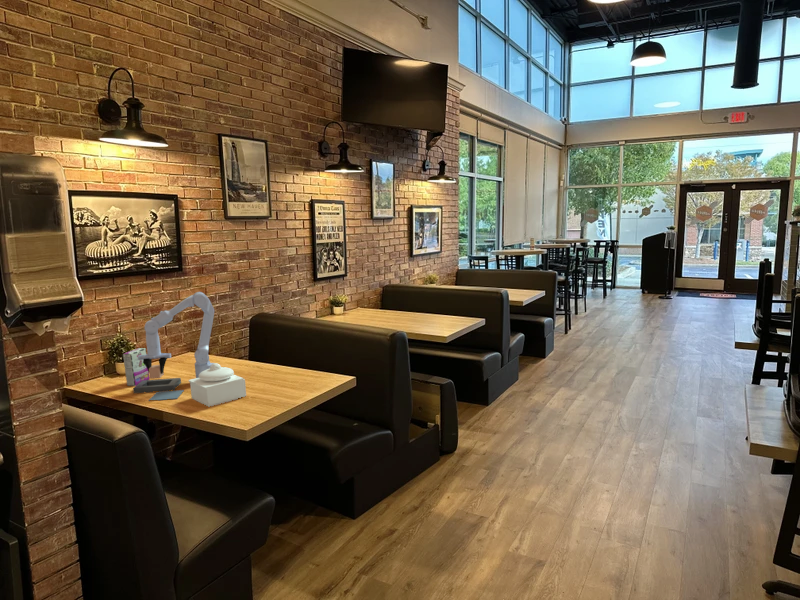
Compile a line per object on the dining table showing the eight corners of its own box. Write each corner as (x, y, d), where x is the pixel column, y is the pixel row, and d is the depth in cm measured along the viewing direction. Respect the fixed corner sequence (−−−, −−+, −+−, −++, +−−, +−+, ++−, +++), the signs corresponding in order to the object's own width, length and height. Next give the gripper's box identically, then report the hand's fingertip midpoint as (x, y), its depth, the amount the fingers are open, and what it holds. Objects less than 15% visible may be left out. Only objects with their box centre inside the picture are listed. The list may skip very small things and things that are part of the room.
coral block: (163, 374, 257) (162, 364, 256) (159, 378, 251) (158, 367, 250) (154, 375, 256) (152, 365, 256) (150, 378, 250) (148, 368, 250)
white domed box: (246, 397, 236) (243, 362, 234) (207, 407, 224) (203, 371, 222) (228, 389, 249) (225, 356, 247) (190, 399, 237) (186, 364, 234)
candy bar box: (141, 379, 271) (137, 347, 268) (150, 379, 270) (146, 348, 267) (126, 386, 260) (122, 353, 257) (135, 386, 259) (131, 353, 256)
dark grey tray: (181, 382, 262) (180, 377, 261) (173, 390, 250) (173, 385, 249) (142, 385, 259) (142, 380, 259) (133, 393, 247) (133, 388, 247)
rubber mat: (184, 390, 248) (183, 389, 248) (176, 399, 237) (176, 398, 237) (157, 392, 247) (157, 391, 247) (148, 401, 235) (148, 400, 235)
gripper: (134, 348, 247) (137, 377, 249) (166, 346, 248) (170, 374, 250) (139, 345, 253) (142, 372, 256) (171, 343, 255) (174, 370, 257)
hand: (156, 373), depth 253 cm, fingers closed on coral block, 4 cm apart
